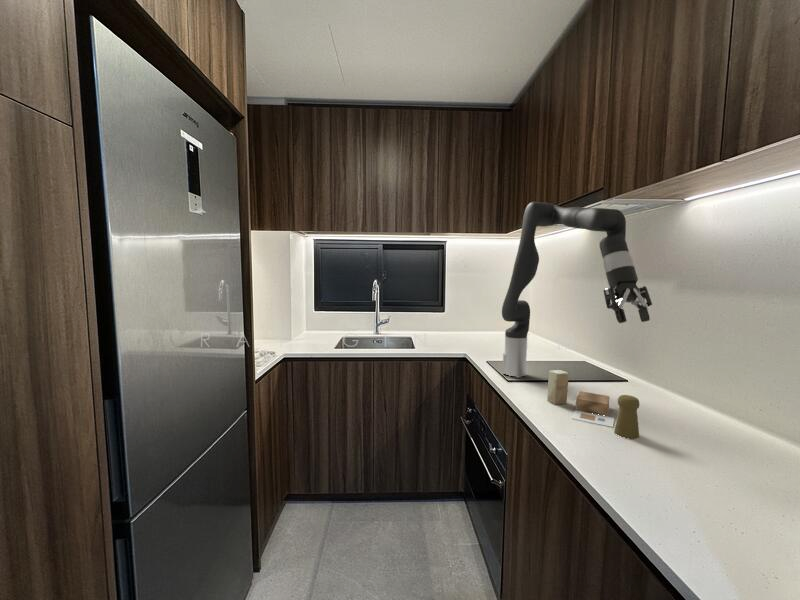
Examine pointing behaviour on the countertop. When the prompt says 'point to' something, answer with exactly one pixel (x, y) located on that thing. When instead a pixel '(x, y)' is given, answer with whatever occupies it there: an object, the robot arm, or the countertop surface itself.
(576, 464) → the countertop surface
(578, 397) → the base brick
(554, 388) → the box
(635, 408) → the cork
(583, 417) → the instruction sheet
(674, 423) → the countertop surface
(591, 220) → the robot arm
